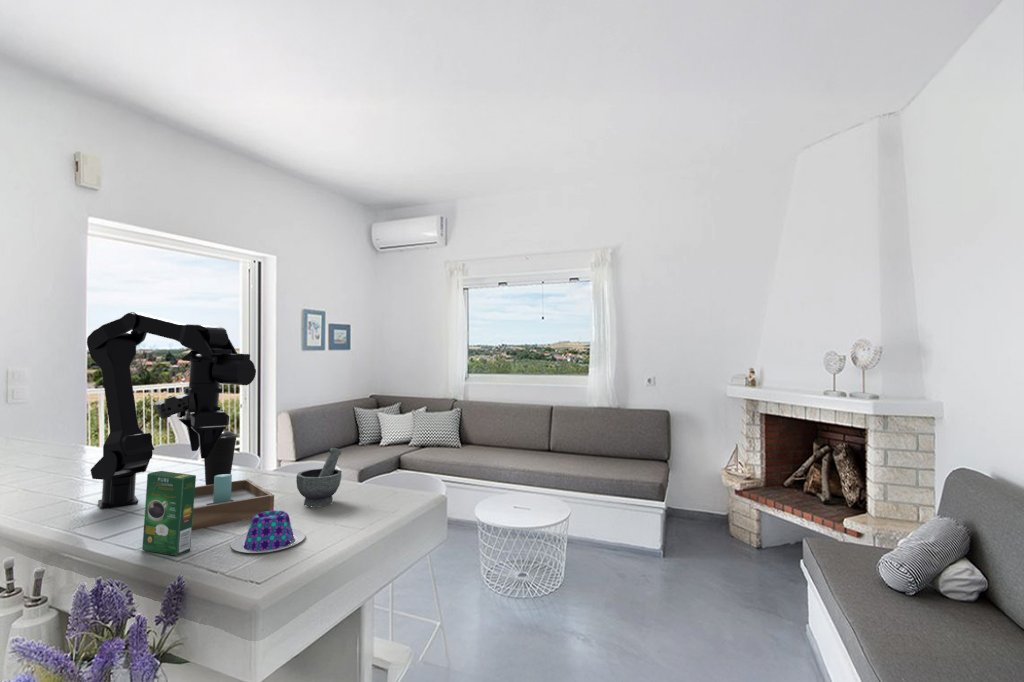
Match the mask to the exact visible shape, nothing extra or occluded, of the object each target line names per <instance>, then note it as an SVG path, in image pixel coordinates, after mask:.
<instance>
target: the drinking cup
mask: <svg viewBox="0 0 1024 682" xmlns="http://www.w3.org/2000/svg"><path fill="white" fill-rule="evenodd" d="M220 410H221V411H223V412H224V409H220ZM237 437H238V434H237V433H234V432H232V431H230V430H225V429H224V431H223V432H222V434H221V435H220V437H219V439H218V440H217V442H216V444H215V445H214V447H213V449H212V451H211V452H210V454H209V456H208V458H203V461H204V477H205V480H204V481H205V483H204V484H205V485H211V484H214V476H216V475H222V474H231V475H232V468H233V463H234V456H235V450H236V449H235V448H236V444H237V443H236V441H237Z"/></svg>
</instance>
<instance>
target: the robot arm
mask: <svg viewBox="0 0 1024 682" xmlns="http://www.w3.org/2000/svg"><path fill="white" fill-rule="evenodd" d="M147 334H150V335H154V336H158V337H162V338H166V339H170V340H173V341H176V342H179V343H180V345H181V346H183V347H184V348H187V349H189V350H190V352H188V353H187V354H185V355H184V356H183V357H182V358H181V361H183V362H190V364H189V365H190V367H189V378H188V386H186V387H185V388H184V393H182V394H179V395H171V397H165V398H164V399H162V400H158V401H156V402H154V403H153V404H154V407H155V411H156V412H157V415H158V418H160V419H161V420H164V419H167V418H168V419H169V418H170V417H171V416H173V415H176V417H177V418H178V421H179V422H180V423H182V424H183V425H184V426H185V427H186V430H187V434H188V439H189V444H190V449H191V451H192V452H197V451H198V450H199V452H200V458H201V459H203V460H204V458H208V456H209V454H210V452H211V451H212V449H213V447H214V445H215V444H216V442H217V440H218V439H219V437H220V435H221V434H222V432H223V431H224V430H225V429H227V426H229V424H230V416H229V414H227V413H226V412H225V411H224V410H223V411H221V410H222V409H221V406H220V405H219V399H220V394H222V393H223V392H222V391H223V387H221V385H234V386H248V385H250V384H251V383H252V382H253V381H254V380H255V378H256V374H257V369H256V366H255V363H254V362H253V361H252V360H251V354H250V353H238V352H237V351H236V348H235V346H234V345H233V343H232V341H231V340H230V338H229V334H228V331H227V330H226V328H224V327H222V326H213V325H204V324H203V325H202V324H186V323H182V322H179V321H174V320H171V319H165V318H162V317H159V316H155V315H154V316H153V315H151V314H150V313H145V312H144V313H143V312H135V311H133V312H132V311H131V312H127V313H125V314H124V315H123V316H121V317H120V318H117V319H114V320H112V321H109V322H107V323H104V324H102V325H101V326H99V327H98V328H96V329H94V330H92V332H91V333H90V334H89V335H88V337H87V338H86V345H87V346H86V347H87V349H88V353H89V356H90V358H91V360H92V361H93V362H94V363H95V364H96V365H97V366H98V367H99V369H101V373H102V383H103V389H104V396H105V402H106V410H107V417H108V425H109V434H108V436H107V438H106V440H105V442H104V443H103V446H102V456H101V458H100V459H99V460H98V461H97V462H96V463H95V464H94V465H93V466H92V467H91V468H90V474H91V478H92V480H102V490H101V493H102V494H101V499H98V501H97V503H98V506H99V508H100V509H107V508H114V507H120V506H121V507H122V506H126V505H127V506H128V505H133V504H138V503H139V499H138V498H137V496H136V480H137V477H136V476H137V474H139V473H145V472H147V468H148V467H149V463H150V461H151V460H152V459H153V451H155V447H154V445H153V435H152V433H151V432H144V431H143V430H142V429H141V428H140V426H139V421H138V414H137V408H136V401H135V393H134V387H133V380H132V373H131V364H132V363H133V361H134V359H135V358H136V355H137V346H139V345H140V344H142V343H143V342H144V341H145V339H146V337H147ZM113 506H114V507H113Z"/></svg>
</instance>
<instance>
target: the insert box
mask: <svg viewBox="0 0 1024 682" xmlns="http://www.w3.org/2000/svg"><path fill="white" fill-rule="evenodd" d="M213 495H214V484H211V485H206V484H205V485H198V486H195V495H194V508H193V522H192V531H193V530H198V529H199V530H200V529H203V528H209V527H215V526H220V525H223V524H229V523H233V522H234V523H235V522H239V521H245V520H250V519H251V520H252V518H253V516H254V515H256V514H260V513H261V512H265V511H272V510H274V508H275V494H273V493H272V492H270V491H268V490H266V489H265V488H263V487H262V486H260V485H258V484H257V483H255V482H253V481H252V480H250V479H249V478H247V479H242V480H241V479H239V480H233V481H232V485H231V501H230V502H224V503H218V504H213Z"/></svg>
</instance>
